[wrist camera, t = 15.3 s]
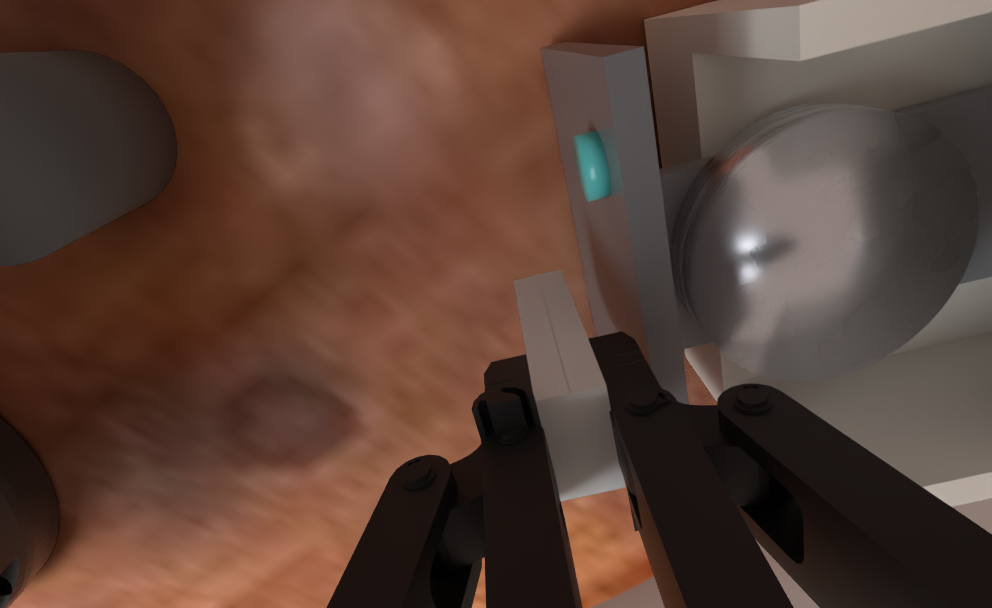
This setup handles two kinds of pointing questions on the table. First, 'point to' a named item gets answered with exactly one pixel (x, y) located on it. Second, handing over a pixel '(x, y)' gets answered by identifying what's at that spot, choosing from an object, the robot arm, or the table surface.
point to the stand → (74, 148)
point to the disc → (824, 238)
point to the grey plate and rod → (676, 194)
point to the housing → (871, 83)
